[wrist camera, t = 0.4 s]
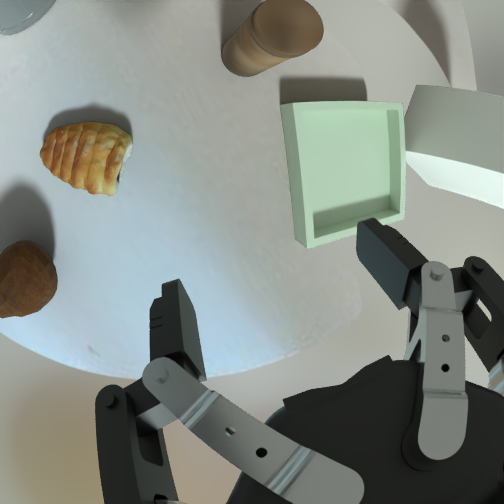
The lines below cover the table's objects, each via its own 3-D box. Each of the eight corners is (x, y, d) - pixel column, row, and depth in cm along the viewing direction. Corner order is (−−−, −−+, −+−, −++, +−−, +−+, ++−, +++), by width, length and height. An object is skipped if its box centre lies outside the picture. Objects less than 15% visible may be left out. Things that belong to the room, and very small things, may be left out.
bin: (279, 105, 27) (292, 102, 25) (386, 102, 31) (402, 103, 28) (295, 239, 35) (307, 249, 32) (390, 212, 38) (404, 218, 36)
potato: (-6, 265, 23) (-35, 299, 16) (38, 214, 23) (7, 241, 17) (32, 308, 27) (12, 349, 20) (79, 264, 27) (61, 304, 20)
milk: (429, 185, 39) (565, 245, 17) (391, 148, 34) (567, 204, 12) (450, 127, 36) (581, 164, 14) (416, 84, 31) (576, 106, 9)
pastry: (40, 177, 22) (26, 183, 19) (56, 112, 20) (43, 110, 17) (119, 195, 26) (114, 204, 23) (138, 131, 24) (136, 130, 21)
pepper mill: (216, 35, 22) (252, -9, 13) (264, 33, 23) (317, -3, 14) (224, 80, 25) (263, 53, 15) (271, 75, 26) (329, 54, 16)
